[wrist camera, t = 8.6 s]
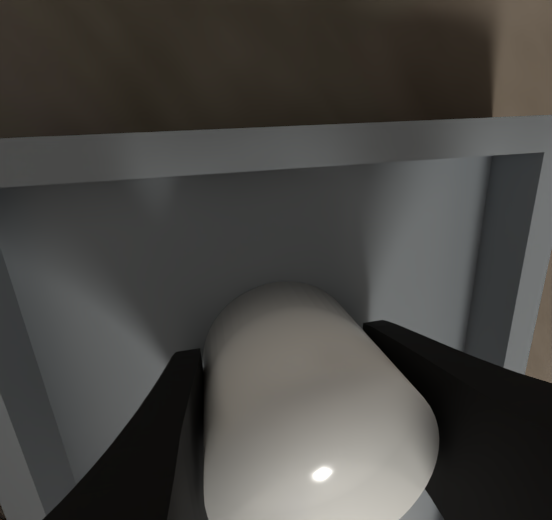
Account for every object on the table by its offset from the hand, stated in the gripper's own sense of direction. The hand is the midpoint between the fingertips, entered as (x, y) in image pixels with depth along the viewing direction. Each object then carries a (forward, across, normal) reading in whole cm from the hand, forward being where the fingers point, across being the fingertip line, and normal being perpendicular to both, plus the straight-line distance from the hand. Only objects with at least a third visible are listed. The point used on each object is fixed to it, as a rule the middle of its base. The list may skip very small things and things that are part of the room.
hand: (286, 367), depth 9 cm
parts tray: (+2, 0, +4) cm, 4 cm away
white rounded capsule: (+1, 0, 0) cm, 1 cm away
